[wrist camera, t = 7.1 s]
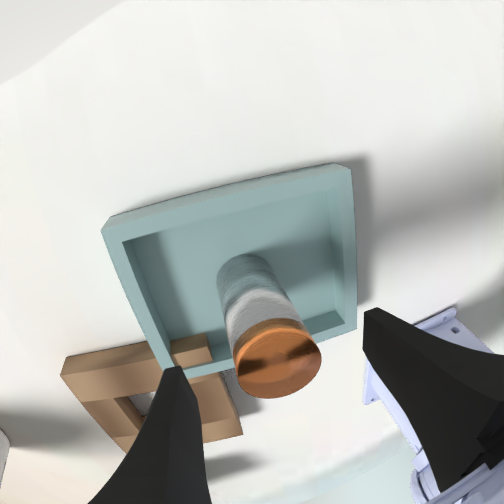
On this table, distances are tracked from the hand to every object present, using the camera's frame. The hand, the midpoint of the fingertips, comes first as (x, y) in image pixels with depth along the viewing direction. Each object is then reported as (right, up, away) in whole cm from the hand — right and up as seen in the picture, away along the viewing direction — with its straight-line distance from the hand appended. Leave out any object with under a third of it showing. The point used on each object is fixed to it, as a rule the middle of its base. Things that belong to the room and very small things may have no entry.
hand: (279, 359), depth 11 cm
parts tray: (-2, +3, +6) cm, 7 cm away
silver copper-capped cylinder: (-1, +2, +6) cm, 7 cm away
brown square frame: (-8, -6, +9) cm, 13 cm away
